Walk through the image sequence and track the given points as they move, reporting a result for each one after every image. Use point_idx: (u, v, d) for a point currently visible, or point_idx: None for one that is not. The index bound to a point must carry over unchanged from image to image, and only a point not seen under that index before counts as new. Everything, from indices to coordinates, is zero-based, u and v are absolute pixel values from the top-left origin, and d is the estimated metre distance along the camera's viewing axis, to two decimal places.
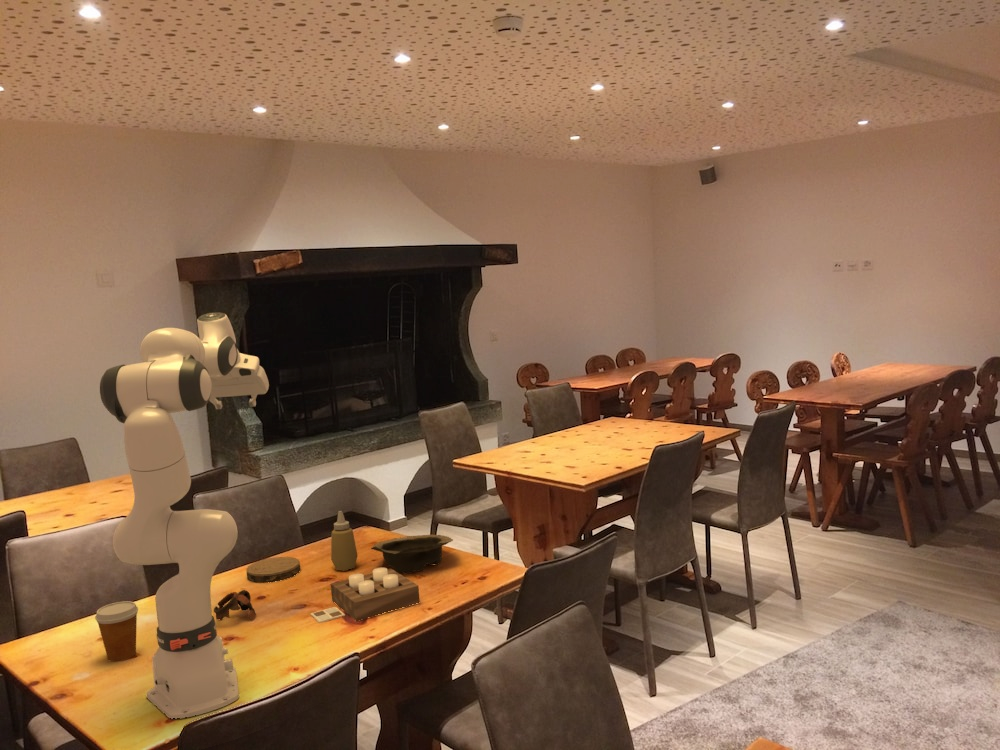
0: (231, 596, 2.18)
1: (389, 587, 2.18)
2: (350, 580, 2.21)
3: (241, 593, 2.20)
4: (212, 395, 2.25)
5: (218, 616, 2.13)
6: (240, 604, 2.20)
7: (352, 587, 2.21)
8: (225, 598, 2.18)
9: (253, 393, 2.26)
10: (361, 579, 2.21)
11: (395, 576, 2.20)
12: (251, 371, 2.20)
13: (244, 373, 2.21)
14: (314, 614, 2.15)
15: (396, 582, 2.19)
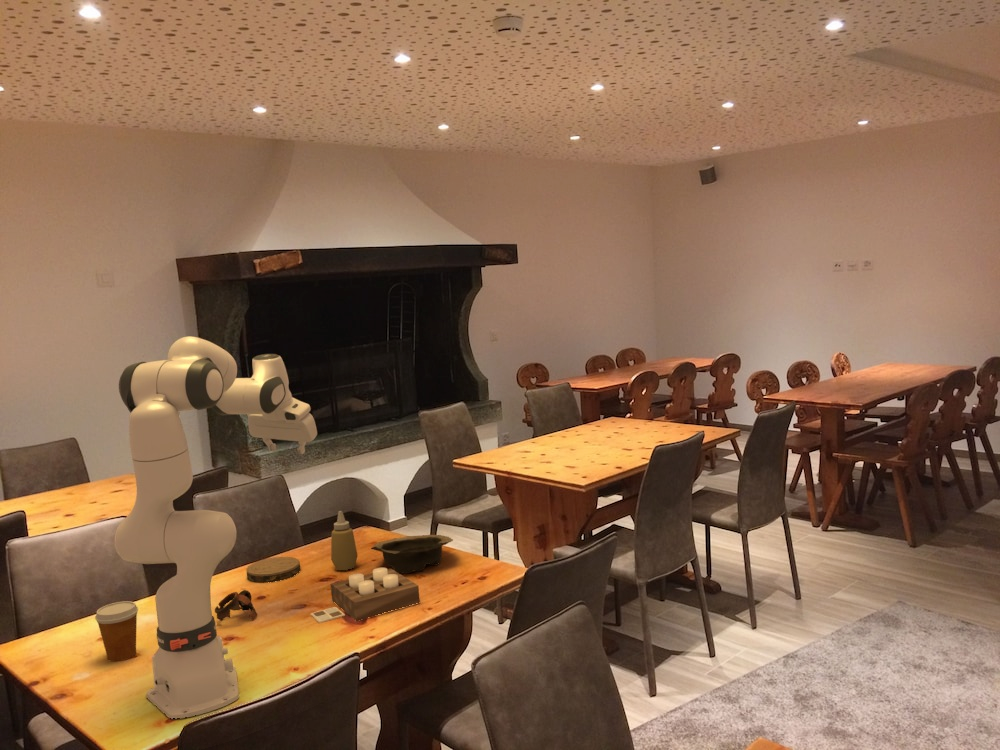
0: (232, 596, 2.18)
1: (389, 587, 2.18)
2: (350, 580, 2.21)
3: (242, 593, 2.20)
4: (264, 435, 2.30)
5: (219, 616, 2.13)
6: (241, 604, 2.20)
7: (352, 587, 2.21)
8: (226, 598, 2.18)
9: (299, 440, 2.27)
10: (361, 579, 2.21)
11: (395, 576, 2.20)
12: (295, 416, 2.22)
13: (289, 417, 2.23)
14: (314, 614, 2.15)
15: (396, 582, 2.19)
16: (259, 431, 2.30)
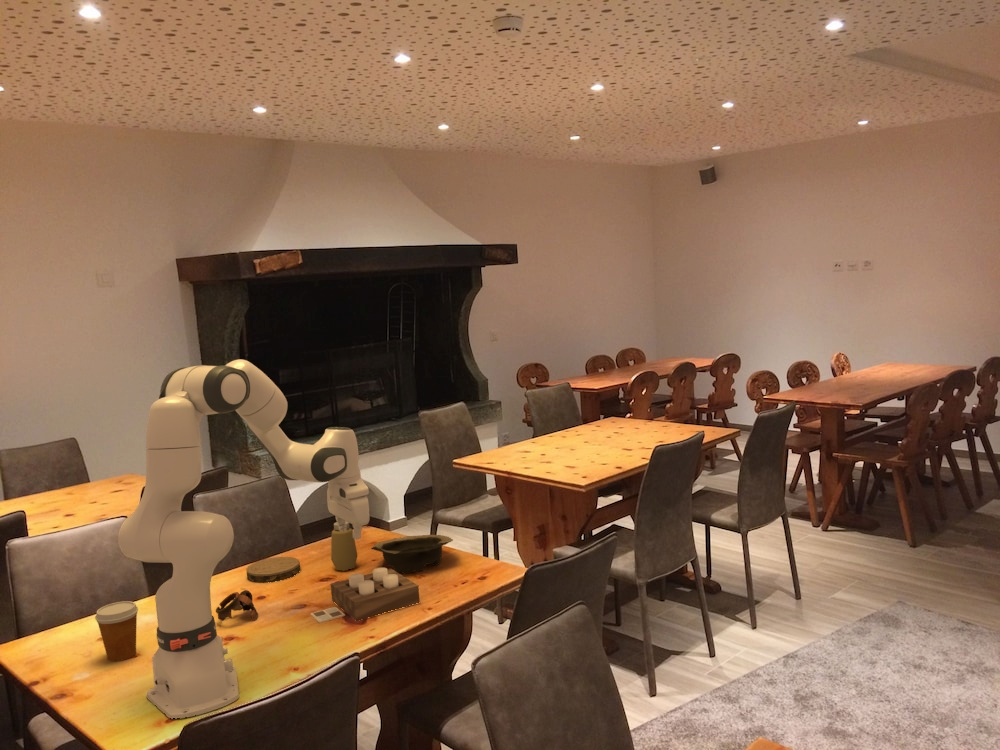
0: (233, 596, 2.18)
1: (389, 587, 2.18)
2: (350, 580, 2.21)
3: (243, 593, 2.20)
4: (334, 512, 2.25)
5: (220, 616, 2.12)
6: (242, 604, 2.20)
7: (352, 587, 2.21)
8: (227, 598, 2.17)
9: (351, 522, 2.16)
10: (361, 579, 2.21)
11: (395, 576, 2.20)
12: (345, 494, 2.13)
13: (342, 494, 2.15)
14: (314, 614, 2.15)
15: (396, 582, 2.19)
16: (331, 507, 2.26)
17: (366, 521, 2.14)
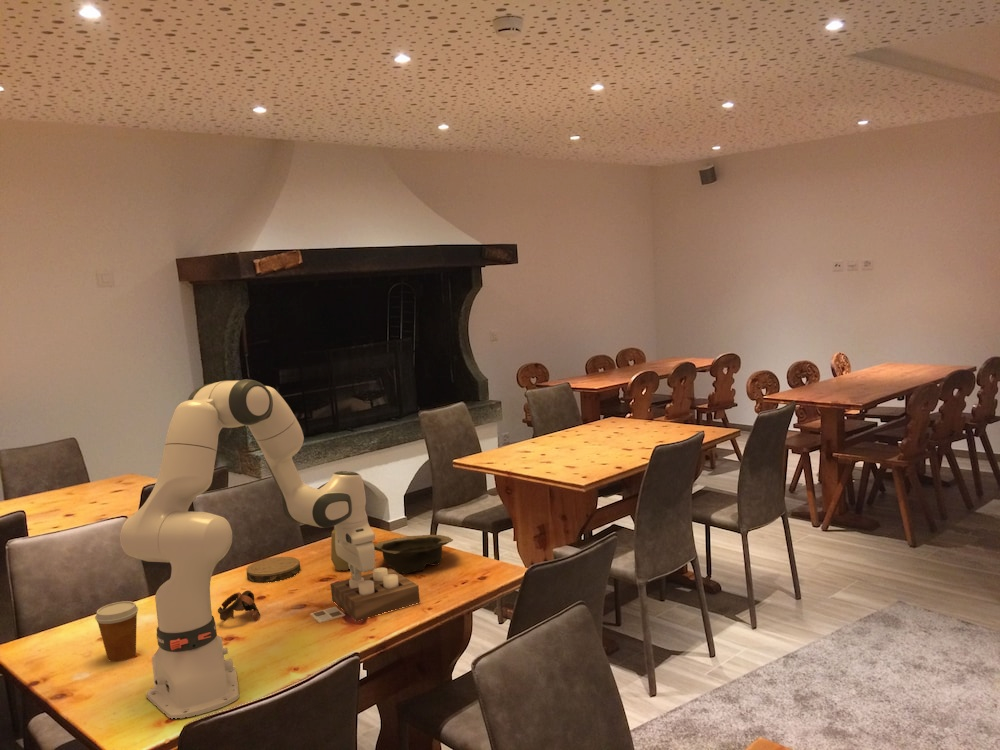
0: (235, 597, 2.17)
1: (389, 587, 2.18)
2: (350, 584, 2.21)
3: (245, 594, 2.19)
4: (341, 556, 2.25)
5: (222, 617, 2.12)
6: (244, 605, 2.20)
7: None
8: (229, 599, 2.17)
9: (357, 567, 2.16)
10: None
11: (395, 576, 2.20)
12: (351, 540, 2.13)
13: (348, 540, 2.15)
14: (314, 614, 2.15)
15: (396, 582, 2.19)
16: (339, 550, 2.26)
17: (372, 567, 2.14)
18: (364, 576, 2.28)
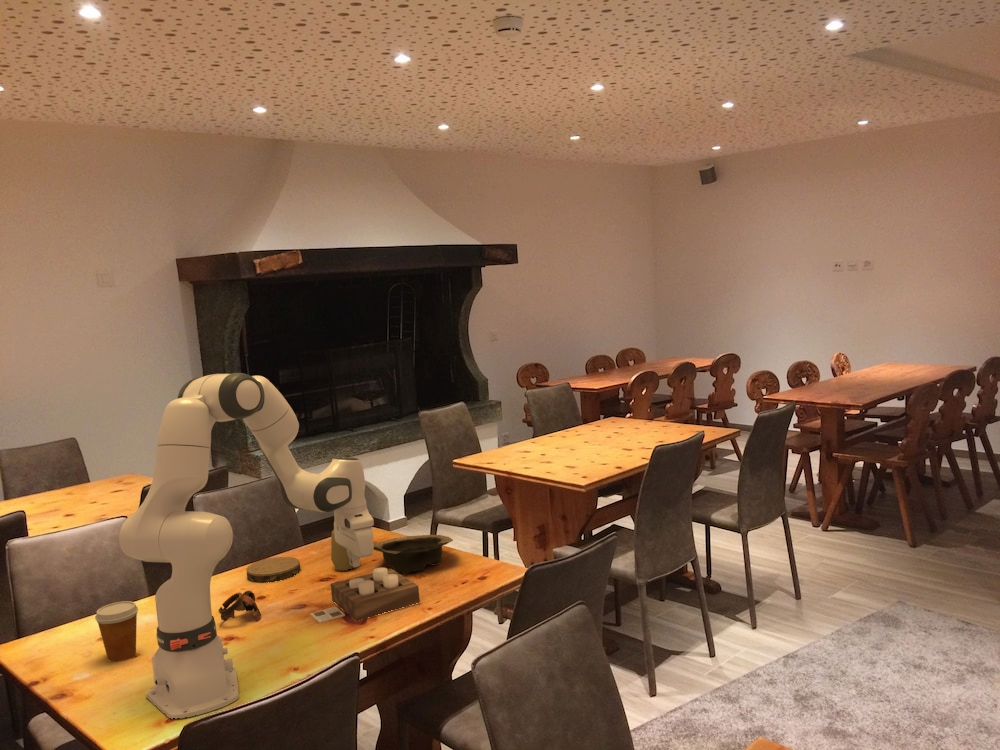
0: (236, 597, 2.17)
1: (389, 587, 2.18)
2: (350, 585, 2.21)
3: (246, 594, 2.19)
4: (340, 542, 2.24)
5: (223, 617, 2.12)
6: (245, 605, 2.19)
7: None
8: (230, 599, 2.17)
9: (355, 553, 2.15)
10: None
11: (395, 576, 2.20)
12: (349, 524, 2.12)
13: (347, 525, 2.14)
14: (314, 614, 2.15)
15: (396, 582, 2.19)
16: (338, 537, 2.26)
17: (370, 552, 2.13)
18: (364, 576, 2.28)
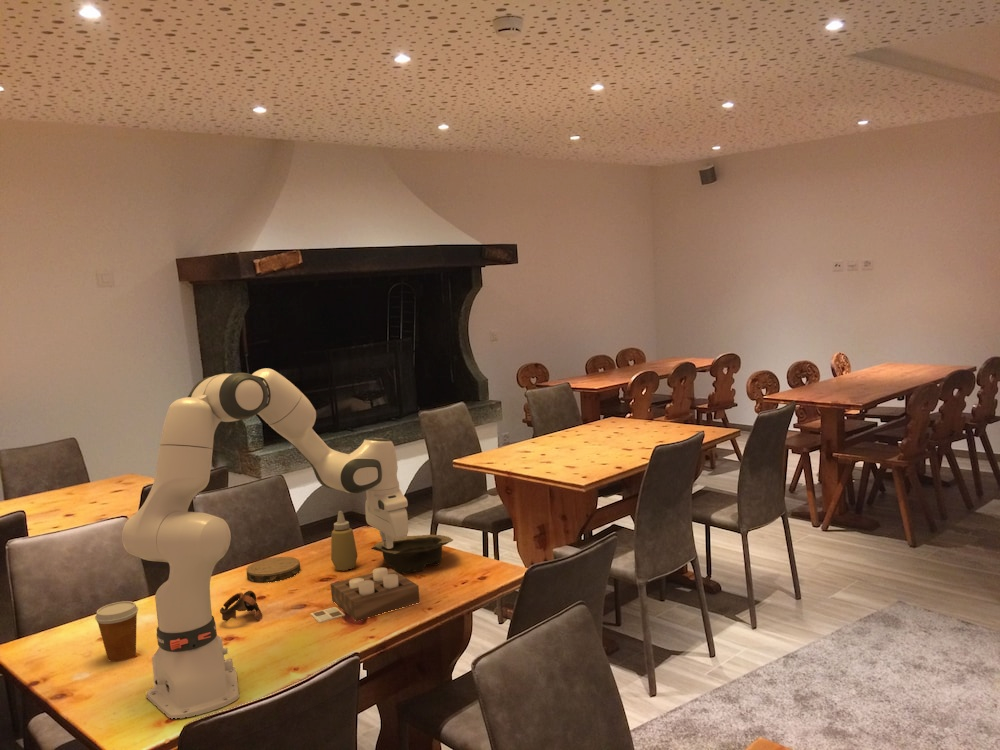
0: (237, 597, 2.17)
1: (389, 587, 2.18)
2: (350, 585, 2.21)
3: (247, 594, 2.19)
4: (372, 524, 2.22)
5: (225, 617, 2.12)
6: (246, 605, 2.19)
7: None
8: (231, 599, 2.17)
9: (389, 534, 2.13)
10: None
11: (395, 576, 2.20)
12: (384, 506, 2.10)
13: (381, 506, 2.12)
14: (314, 614, 2.15)
15: (396, 582, 2.19)
16: (370, 519, 2.23)
17: (405, 534, 2.11)
18: (364, 576, 2.28)
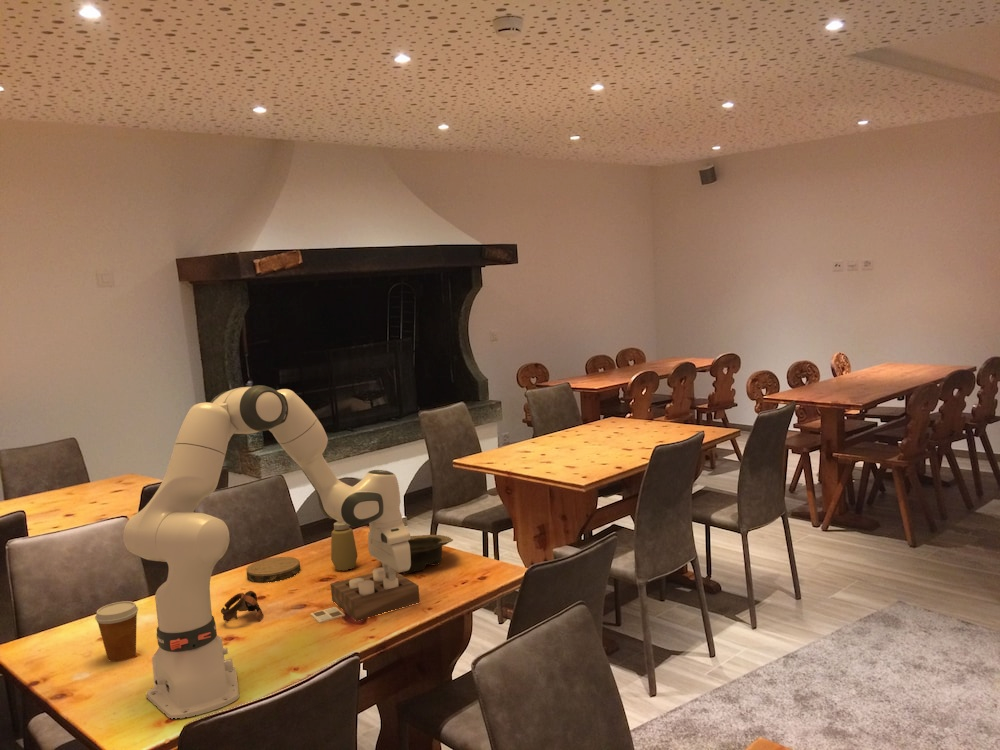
0: (238, 597, 2.17)
1: None
2: (350, 585, 2.21)
3: (248, 594, 2.19)
4: (375, 556, 2.23)
5: (226, 617, 2.11)
6: (247, 605, 2.19)
7: None
8: (232, 599, 2.17)
9: (392, 567, 2.13)
10: None
11: (395, 579, 2.20)
12: (386, 539, 2.11)
13: (383, 539, 2.12)
14: (314, 614, 2.15)
15: (396, 585, 2.19)
16: (372, 550, 2.24)
17: (407, 567, 2.12)
18: (364, 576, 2.28)
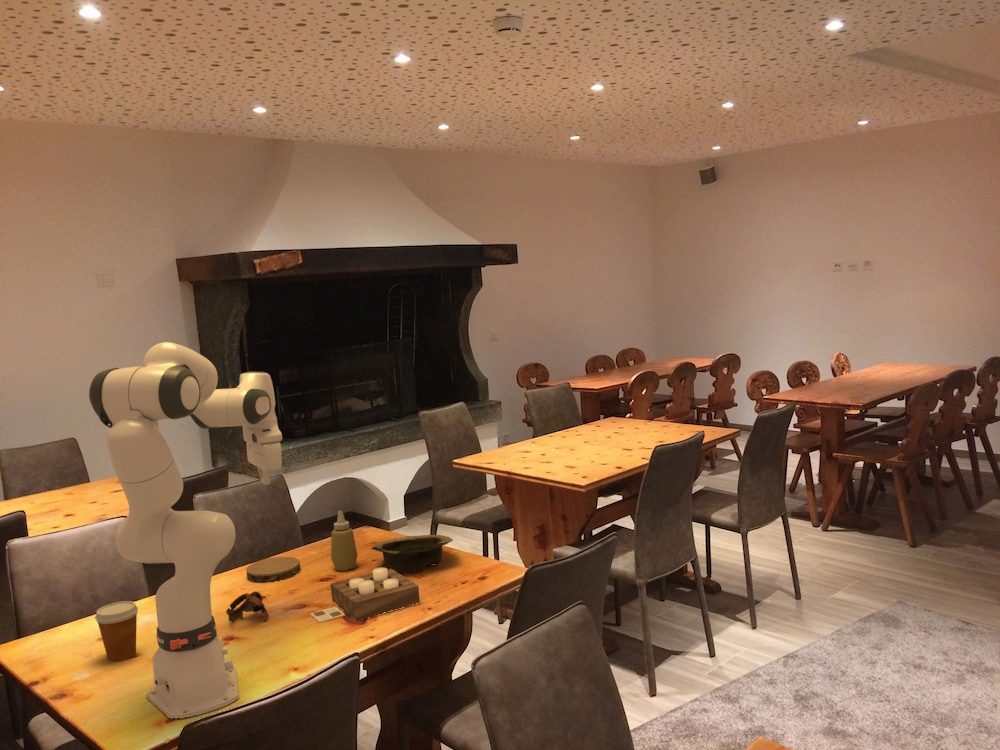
0: (243, 598, 2.16)
1: None
2: (350, 585, 2.21)
3: (253, 594, 2.18)
4: (252, 461, 2.19)
5: (231, 618, 2.11)
6: (252, 606, 2.18)
7: None
8: (237, 600, 2.16)
9: (263, 468, 2.10)
10: None
11: (395, 581, 2.20)
12: (256, 438, 2.07)
13: (254, 439, 2.09)
14: (314, 614, 2.15)
15: None
16: (250, 456, 2.21)
17: (278, 467, 2.08)
18: (364, 576, 2.28)
